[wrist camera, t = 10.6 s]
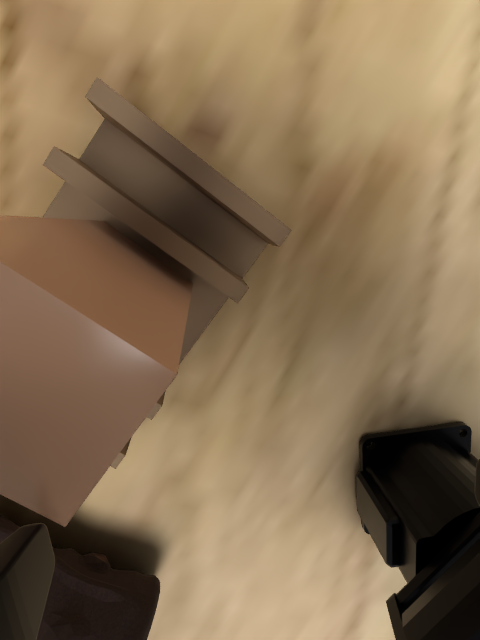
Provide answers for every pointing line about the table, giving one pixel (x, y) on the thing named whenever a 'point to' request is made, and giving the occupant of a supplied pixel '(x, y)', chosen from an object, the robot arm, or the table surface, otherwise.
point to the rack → (164, 208)
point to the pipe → (94, 598)
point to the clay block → (78, 354)
